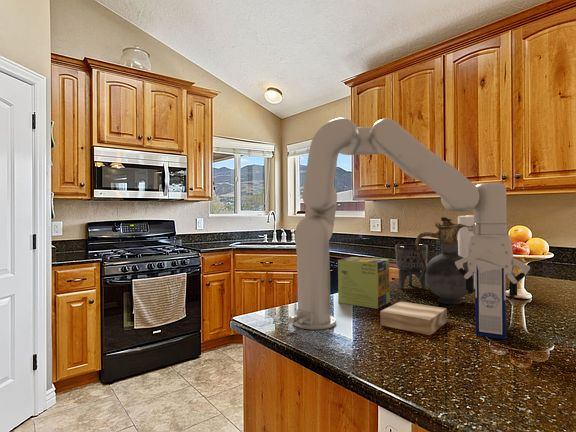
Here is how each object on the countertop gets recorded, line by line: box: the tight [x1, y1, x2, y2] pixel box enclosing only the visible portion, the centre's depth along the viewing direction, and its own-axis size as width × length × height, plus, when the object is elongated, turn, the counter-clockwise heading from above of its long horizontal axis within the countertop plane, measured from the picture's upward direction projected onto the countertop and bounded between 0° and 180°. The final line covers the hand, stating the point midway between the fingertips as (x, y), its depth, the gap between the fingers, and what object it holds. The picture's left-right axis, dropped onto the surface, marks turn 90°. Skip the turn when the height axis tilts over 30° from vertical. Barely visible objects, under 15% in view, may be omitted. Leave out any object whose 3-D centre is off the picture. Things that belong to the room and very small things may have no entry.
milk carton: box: [474, 259, 507, 340], centre depth 96 cm, size 7×7×20 cm
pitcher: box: [415, 216, 474, 305], centre depth 129 cm, size 11×19×30 cm, turn 60°
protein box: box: [337, 256, 391, 310], centre depth 130 cm, size 10×15×16 cm
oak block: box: [379, 300, 448, 336], centre depth 105 cm, size 14×14×4 cm
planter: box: [394, 243, 429, 290], centre depth 153 cm, size 13×13×18 cm
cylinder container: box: [457, 214, 475, 290], centre depth 153 cm, size 9×9×30 cm
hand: (490, 295), depth 96 cm, fingers open, 9 cm apart
